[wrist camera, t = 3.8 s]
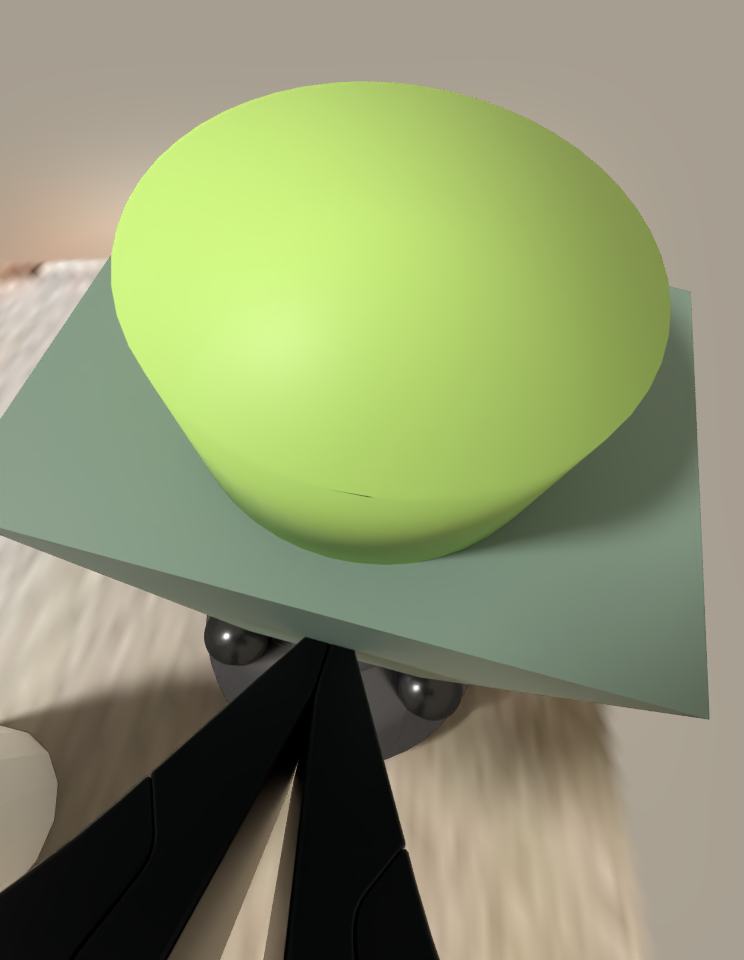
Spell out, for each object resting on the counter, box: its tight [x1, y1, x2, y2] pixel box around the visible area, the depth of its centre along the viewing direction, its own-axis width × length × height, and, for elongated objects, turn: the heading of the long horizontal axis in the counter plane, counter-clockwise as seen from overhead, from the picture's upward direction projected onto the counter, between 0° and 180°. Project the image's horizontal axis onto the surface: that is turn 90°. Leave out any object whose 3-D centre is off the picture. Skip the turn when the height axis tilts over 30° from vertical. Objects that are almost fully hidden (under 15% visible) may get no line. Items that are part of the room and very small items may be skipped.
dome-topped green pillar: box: [0, 81, 709, 719], centre depth 10 cm, size 6×6×15 cm
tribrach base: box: [204, 615, 468, 760], centre depth 18 cm, size 11×11×3 cm
